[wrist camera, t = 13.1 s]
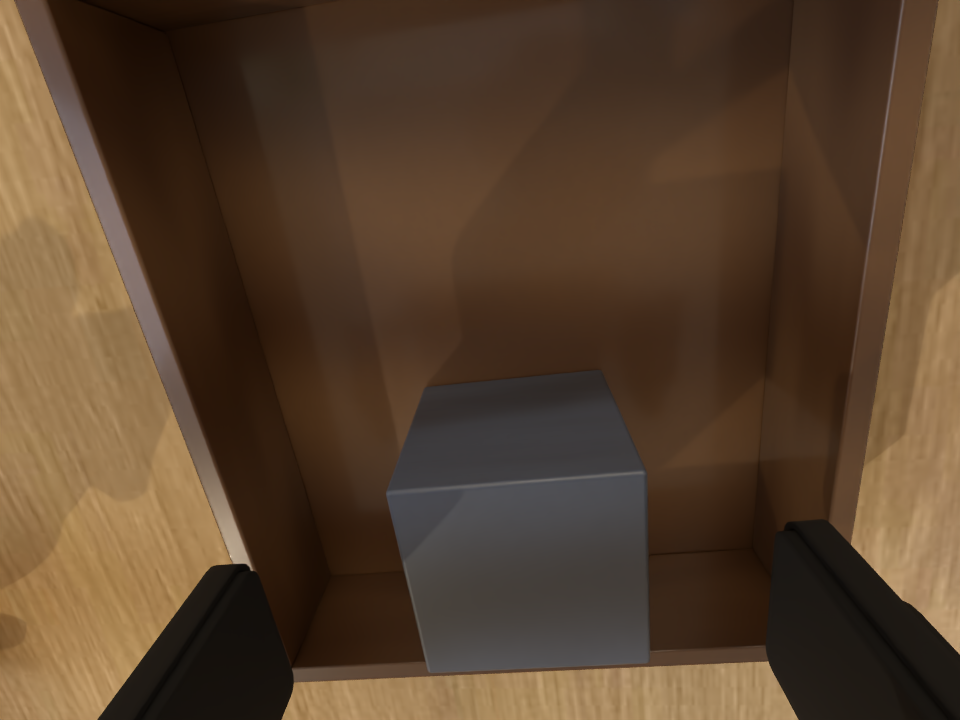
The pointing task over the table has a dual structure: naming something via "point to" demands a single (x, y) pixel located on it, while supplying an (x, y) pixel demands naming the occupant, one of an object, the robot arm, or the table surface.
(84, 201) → the table surface
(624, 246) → the box
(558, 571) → the slate block
